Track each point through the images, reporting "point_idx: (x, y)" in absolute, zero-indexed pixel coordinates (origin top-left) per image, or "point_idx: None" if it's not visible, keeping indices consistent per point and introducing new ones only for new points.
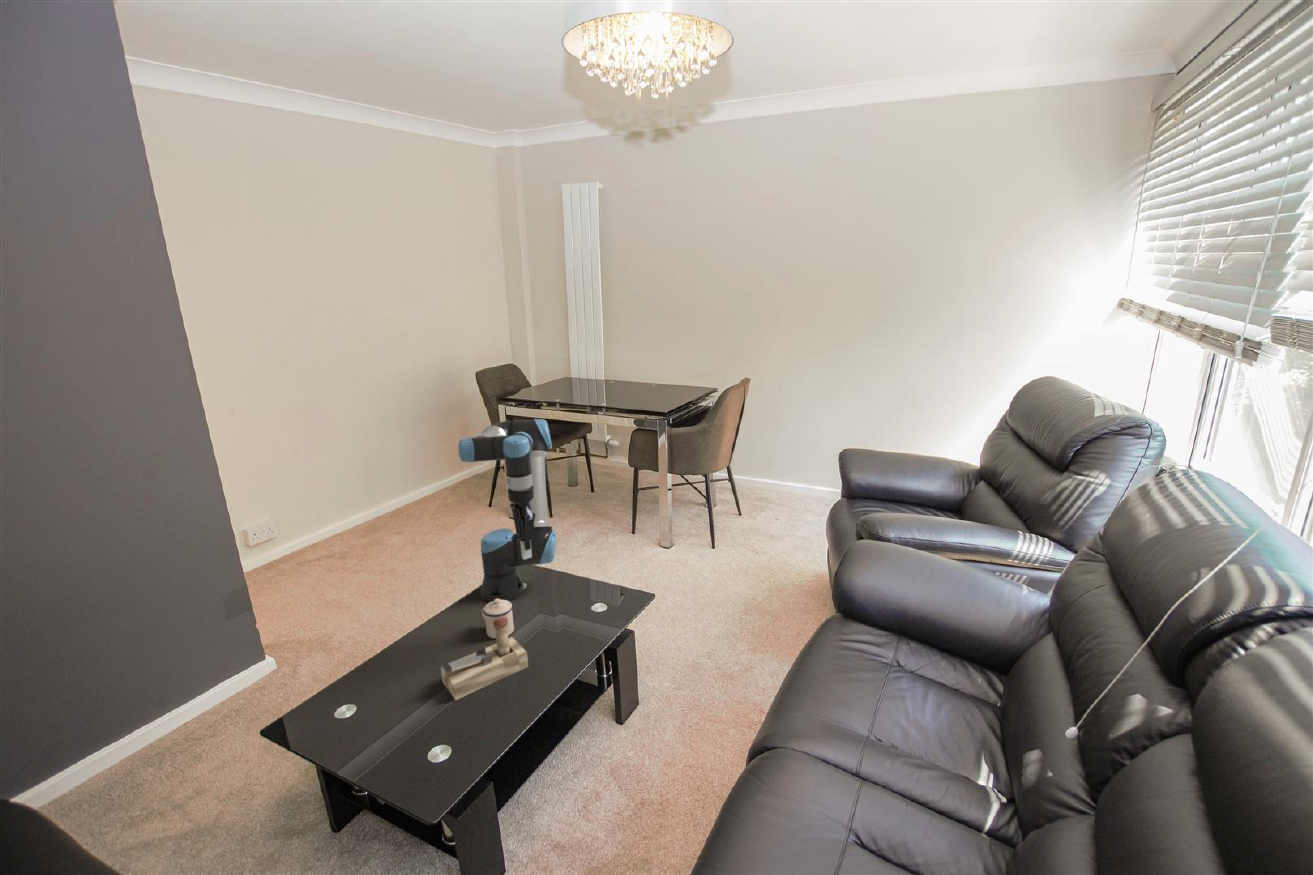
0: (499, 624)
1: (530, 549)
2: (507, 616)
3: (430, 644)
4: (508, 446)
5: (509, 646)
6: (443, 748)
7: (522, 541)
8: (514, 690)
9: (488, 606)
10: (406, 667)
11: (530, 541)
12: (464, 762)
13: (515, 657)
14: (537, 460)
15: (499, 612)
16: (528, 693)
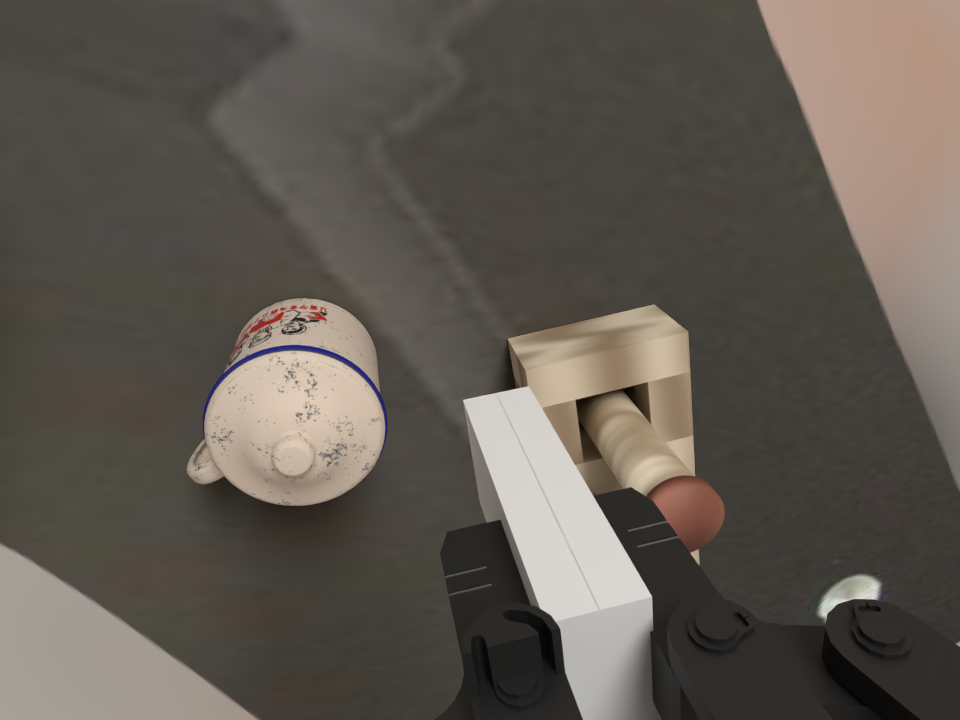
0: (715, 529)
1: (567, 462)
2: (370, 376)
3: (273, 629)
4: None
5: (595, 394)
6: (841, 592)
7: (647, 708)
8: (753, 383)
9: (287, 489)
10: (394, 691)
11: (620, 544)
12: (924, 549)
13: (689, 384)
14: None
15: (377, 437)
16: (802, 341)
